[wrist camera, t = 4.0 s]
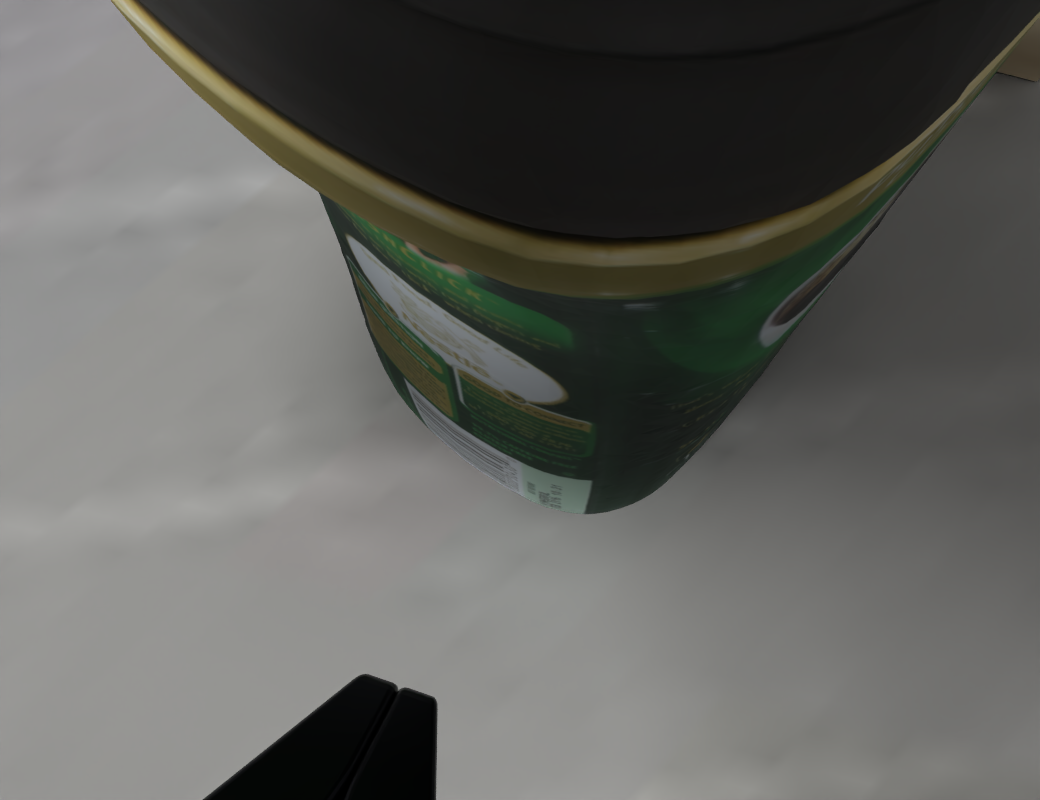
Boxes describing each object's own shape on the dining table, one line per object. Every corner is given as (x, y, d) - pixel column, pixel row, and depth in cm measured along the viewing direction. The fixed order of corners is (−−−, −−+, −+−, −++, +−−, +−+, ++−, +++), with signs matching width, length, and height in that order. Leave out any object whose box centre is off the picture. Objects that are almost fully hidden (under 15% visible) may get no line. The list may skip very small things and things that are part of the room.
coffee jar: (579, 63, 23) (664, -2143, 5) (855, 241, 21) (2532, -1901, 3) (326, 367, 21) (-1068, -1173, 3) (606, 581, 20) (1160, 125, 2)
